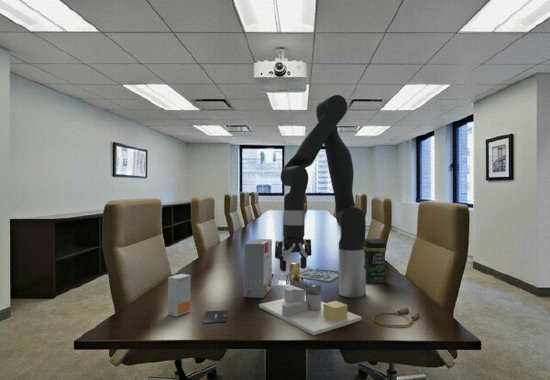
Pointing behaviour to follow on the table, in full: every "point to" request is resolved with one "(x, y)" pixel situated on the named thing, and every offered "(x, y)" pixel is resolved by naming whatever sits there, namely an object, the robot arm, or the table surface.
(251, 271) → the hard drive box
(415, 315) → the extension cord
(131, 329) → the table surface
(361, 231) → the robot arm
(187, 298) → the skincare box
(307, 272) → the grey patterned tray
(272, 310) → the base
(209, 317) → the solid state drive
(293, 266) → the bar
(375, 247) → the coffee jar
